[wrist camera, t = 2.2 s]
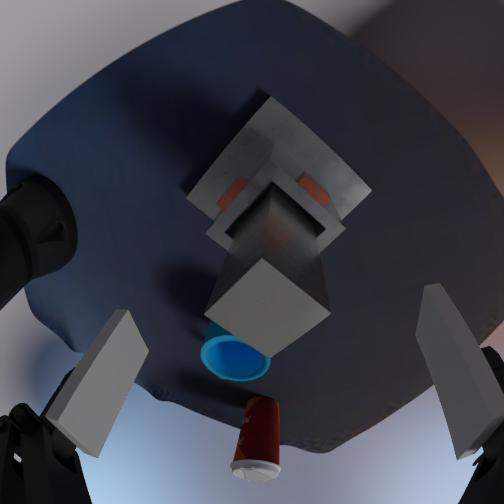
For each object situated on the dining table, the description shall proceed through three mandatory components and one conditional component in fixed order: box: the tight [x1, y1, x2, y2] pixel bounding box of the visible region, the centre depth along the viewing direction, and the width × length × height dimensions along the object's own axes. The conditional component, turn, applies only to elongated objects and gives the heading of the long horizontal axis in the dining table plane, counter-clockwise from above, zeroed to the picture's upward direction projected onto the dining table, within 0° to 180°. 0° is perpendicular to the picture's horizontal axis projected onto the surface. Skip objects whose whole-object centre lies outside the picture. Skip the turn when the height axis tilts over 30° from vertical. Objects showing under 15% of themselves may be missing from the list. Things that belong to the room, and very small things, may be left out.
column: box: [204, 180, 331, 358], centre depth 21 cm, size 4×4×19 cm
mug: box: [201, 320, 270, 381], centre depth 37 cm, size 12×8×8 cm
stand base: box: [186, 96, 372, 252], centre depth 26 cm, size 14×14×12 cm
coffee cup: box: [230, 396, 281, 481], centre depth 43 cm, size 8×8×15 cm
